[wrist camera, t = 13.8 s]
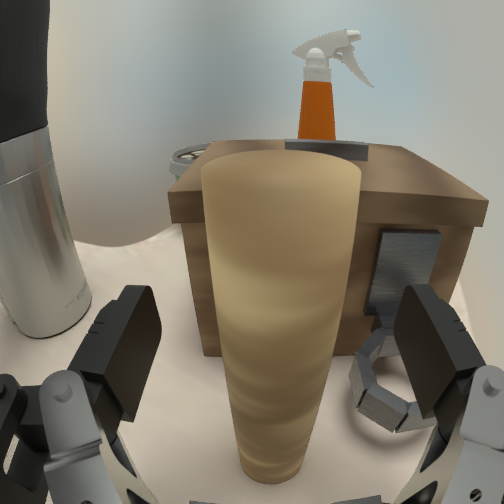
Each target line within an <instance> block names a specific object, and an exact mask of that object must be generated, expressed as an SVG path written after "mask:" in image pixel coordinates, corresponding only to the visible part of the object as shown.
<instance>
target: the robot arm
mask: <svg viewBox="0 0 504 504" xmlns="http://www.w3.org/2000/svg"><path fill="white" fill-rule="evenodd" d="M49 13H50V0H0V300H1V302H2V304H3V306H4V308H5V310H6V311H7V313H8V315H9V317H10V319H11V321H12V322H16V324H17V326H18V327H19V329H20V330H21V331H22V333H24V334H25V335H27V336H30V337H34V338H43V337H48V336H52V335H55V334H58V333H60V332H62V331H64V330H66V329H68V328H69V327H71V326H72V325H73V324H75V323H76V322H77V321H78V320H79V319H80V318H81V317H82V316H83V315H84V314H85V312H86V311H87V309H88V307H89V305H90V302H91V292H90V289H89V287H88V284H87V281H86V278H85V275H84V273H83V270H82V267H81V264H80V260H79V257H78V254H77V251H76V248H75V244H74V241H73V238H72V235H71V231H70V227H69V224H68V220H67V216H66V213H65V209H64V205H63V201H62V196H61V192H60V188H59V184H58V179H57V174H56V169H55V164H54V159H53V153H52V148H51V142H50V135H49V128H48V126H47V125H48V121H47V111H46V108H47V89H48V87H47V43H48V42H47V41H48V29H49ZM393 332H394V339H395V341H396V344H397V347H398V349H399V352H400V354H401V357H402V360H403V363H404V365H405V368H406V371H407V374H408V376H409V379H410V382H411V385H412V388H413V391H414V394H415V397H416V400H417V403H418V406H419V409H420V412H421V415H422V419H423V420H424V419H429V418H433V417H436V419H437V422H438V423H437V424H436V425H435V427H434V429H433V431H432V434H431V436H430V439H429V441H428V444H427V446H426V448H425V451H424V453H423V455H422V457H421V459H420V462H419V464H418V466H417V468H416V470H415V472H414V474H413V476H412V477H411V479H410V480H409V482H408V483H407V484H406V485H405V487H404V488H403V489H402V491H401V492H400V493H399V495H398V496H397V498H396V500H395V501H394V503H393V504H500V503H501V504H504V372H503V371H502V370H501V369H499V368H498V367H495V366H491V365H486V363H485V361H484V360H483V358H482V356H481V354H480V352H479V350H478V349H477V347H476V345H475V343H474V342H473V340H472V338H471V336H470V335H469V333H468V331H466V328H465V326H464V325H463V323H462V322H460V318H459V316H458V315H457V313H456V312H455V310H454V308H452V307H451V306H450V305H449V304H448V303H447V302H445V301H444V300H443V299H439V298H438V296H437V294H436V293H435V291H434V290H433V288H432V287H431V286H430V285H429V284H420V285H407V286H406V288H405V290H404V292H403V296H402V299H401V302H400V305H399V309H398V312H397V315H396V318H395V321H394V327H393ZM161 334H162V326H161V321H160V317H159V313H158V310H157V306H156V302H155V299H154V295H153V291H152V289H151V287H150V286H143V285H126V286H125V287H124V289H123V291H122V292H121V294H120V296H119V297H118V299H117V300H112V301H110V302H109V303H108V304H107V305H106V306H105V307H103V308H102V309H101V310H100V312H99V313H98V315H97V317H96V318H95V320H94V324H92V325H91V327H90V329H89V330H88V334H86V336H85V337H84V339H83V341H82V343H81V345H80V346H79V348H78V350H77V352H76V354H75V356H74V357H73V359H72V361H71V363H70V365H69V367H68V368H67V370H61V371H57V372H55V373H53V374H51V375H50V376H48V377H47V378H46V379H45V380H44V382H43V383H42V385H36V386H20V385H19V383H18V382H17V381H16V379H15V378H14V377H13V376H12V375H9V374H0V504H45V502H46V498H47V494H48V490H49V492H50V495H51V498H52V501H53V504H159V503H158V501H157V500H156V498H155V497H154V495H153V494H152V493H151V491H150V490H149V489H148V487H147V486H146V485H145V483H144V482H143V480H142V478H141V476H140V474H139V473H138V471H137V469H136V467H135V465H134V463H133V461H132V458H131V456H130V454H129V452H128V450H127V448H126V446H125V444H124V441H123V439H122V437H121V434H120V432H119V431H118V427H119V424H120V421H121V420H122V421H127V422H134V419H135V416H136V412H137V409H138V406H139V403H140V400H141V397H142V393H143V390H144V387H145V384H146V381H147V378H148V375H149V372H150V369H151V366H152V363H153V360H154V357H155V354H156V352H157V349H158V346H159V343H160V340H161ZM13 435H15V436H16V437H17V438H18V439H19V441H18V444H17V447H16V450H15V452H14V455H13V458H12V461H11V464H10V467H9V470H8V473H7V474H5V472H4V468H3V463H4V459H5V457H6V454H7V451H8V448H9V446H10V443H11V440H12V438H13ZM189 504H215V503H205V502H197V501H190V502H189ZM332 504H389V503H382V502H381V495H377V496H372V497H367V498H361V499H354V500H348V501H340V502H335V503H332Z"/></svg>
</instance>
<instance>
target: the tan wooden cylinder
mask: <svg viewBox="0 0 504 504" xmlns="http://www.w3.org/2000/svg"><path fill="white" fill-rule="evenodd" d="M201 183H202V194H203V204H204V214H205V224H206V233H207V242H208V251H209V260H210V268H211V276H212V284H213V292H214V300H215V307H216V315H217V322H218V329H219V336H220V343H221V350H222V357H223V363H224V370H225V376H226V382H227V388H228V395H229V401H230V406H231V412H232V418H233V424H234V429H235V435H236V440H237V446H238V451H239V456H240V461H241V465H242V468H243V470H244V471H245V473H246V474H247V475H248V476H249V477H250V478H252V479H253V480H255V481H258V482H260V483H265V484H277V483H282V482H284V481H287V480H289V479H290V478H292V477H293V476H294V475H295V474H296V473H297V472H298V470H299V469H300V467H301V464H302V461H303V458H304V455H305V452H306V449H307V446H308V443H309V440H310V436H311V433H312V430H313V426H314V423H315V420H316V416H317V413H318V409H319V406H320V402H321V398H322V395H323V391H324V387H325V383H326V379H327V375H328V371H329V367H330V363H331V359H332V355H333V350H334V346H335V341H336V337H337V332H338V328H339V323H340V318H341V313H342V308H343V303H344V297H345V292H346V286H347V280H348V275H349V268H350V262H351V256H352V249H353V242H354V235H355V228H356V220H357V211H358V203H359V193H360V183H361V170H360V169H359V168H358V167H357V166H356V165H355V164H353V163H351V162H349V161H347V160H344V159H341V158H338V157H335V156H331V155H327V154H322V153H316V152H309V151H300V150H257V151H247V152H240V153H235V154H230V155H226V156H222V157H219V158H216V159H214V160H211V161H209V162H208V163H206V164H205V165H204V166H203V167H202V168H201Z"/></svg>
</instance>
